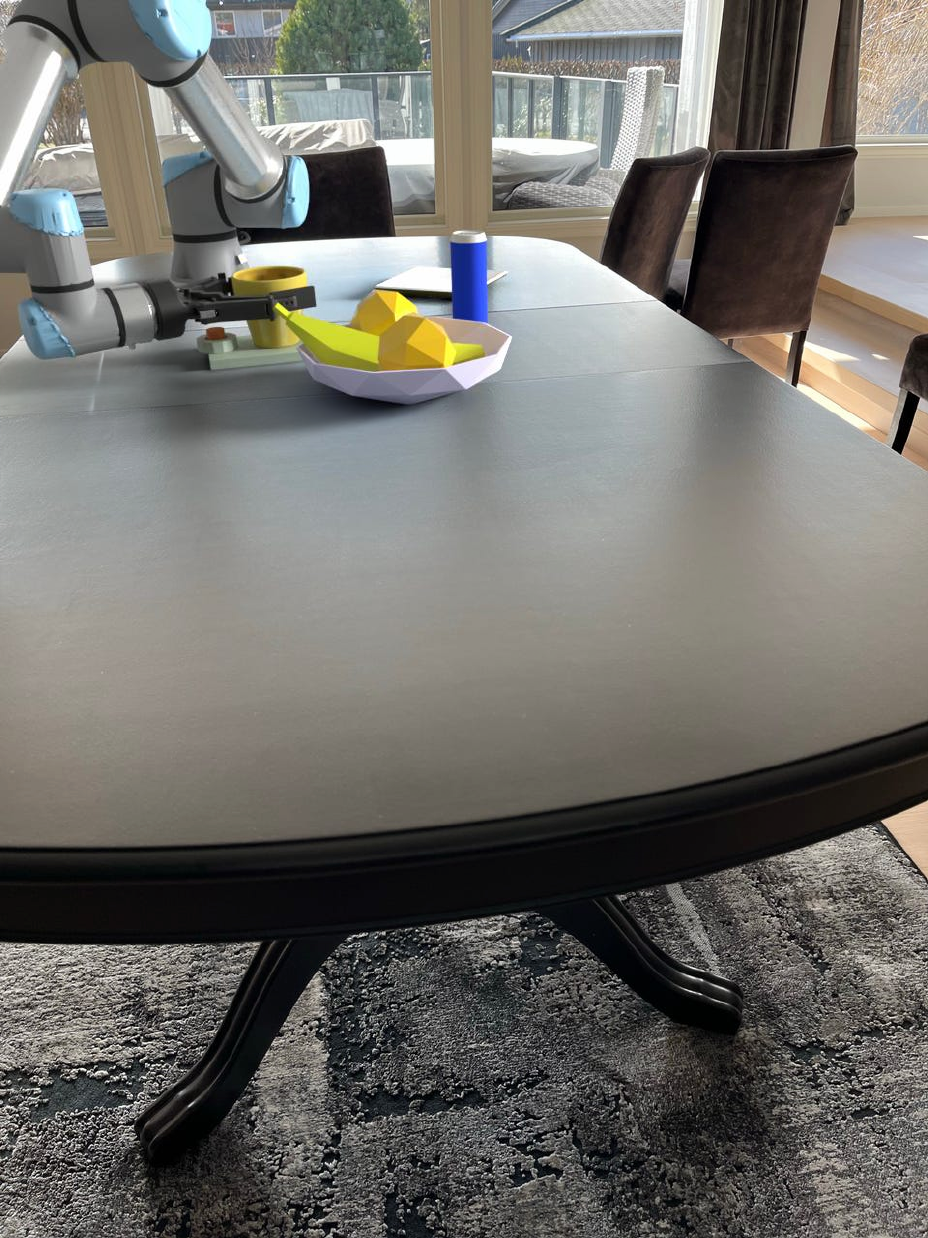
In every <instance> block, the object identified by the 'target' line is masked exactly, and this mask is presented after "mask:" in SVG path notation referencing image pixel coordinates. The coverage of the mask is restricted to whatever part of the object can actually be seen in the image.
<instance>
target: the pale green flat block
mask: <svg viewBox="0 0 928 1238" xmlns="http://www.w3.org/2000/svg"><path fill="white" fill-rule="evenodd" d="M225 336H226V338H225V339H221V340H207V335H206V334H202V335H199V336H198V337H196V343H197V344H196V345H197V349H198V352H199V353H202V354H207V355H208V356H207V357H208V361H209V368H210V370H211V371H215V370H225V369H233V368H245V367H255V366H264V365H273V364H284V363H292V362H304V361H303V359H302V358H301V356H300V354H299V352H298V350H297V348H296V347H297V346H299V345H300V344H302V343H303V342H302V341H301V340H300V341H299V342H298V343H297V344H295V345H292V346H289V347H284V348H261V347H258V346H256V345H255V344H254V342H253V339H252V336H251V334H250V335H241V336H240V335H239V336H237V334H235V333H231V332H225Z"/></svg>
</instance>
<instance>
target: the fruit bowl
mask: <svg viewBox="0 0 928 1238" xmlns="http://www.w3.org/2000/svg"><path fill="white" fill-rule="evenodd" d="M273 310H274V311H275V312H276V313H277V314H279V315H280V316H281V317H282V318H283V319H285V320H286V323H285V324H286V325H287V326H288V327H289V328H290V329H291V330H292V331H293V332H294V334H295V335H296V336H297V337H298V338H299V339H300V340H301V341H302V342H303V343H302V344H300V345H299V346H297V347H296V348H297V350H298V352H299V354H300V356H301V358H302V359H303V361H302V362H303V364H304V365H305V367H306V369H307V371H308V373H309V374H310V376H311V378H312V380H314V381H316V382H318V383H321V384H323V385H326V386H328V387H330V388H333V389H335V390H337V391H340V392H342V393H344V394H347V395H350V396H352V397H358V398H363V399H370V400H376V401H377V400H378V401H383V402H388V403H390V402H391V403H394V404H402V405H407V406H411V405H415V404H418V403H422V402H425V401H429V400H432V399H433V400H434V399H437V398H440V397H444V396H448V395H451V394H455V393H458V392H462V391H466V390H468V389H470V388H472V387H473V386H475V385H476V384H478V383H480V382H481V381H483V380H485V379H487V378H488V377H490V376H492V375H494V374H495V373H497V372H499V371H500V370H501V369H502V365H503V363H504V360H505V358H506V355H507V352H508V349H509V346H510V344H511V341H512V338H513V336H512V335H510V334H508V333H506V332H505V331H502V330H500V329H498V328H496V327H495V326H493V325H491V324H490V323H488V324H487V323H485V322H476V321H467V320H459V319H453V318H451V317H440V316H432V315H431V316H423V315H422V314H419V312H418V309H417V306H416V305H415V304H414V303H413V302H412V301H410V300H409V299H407V298H406V296H402V295H401V294H399V293H398V292H393V291H384V290H376V289H375V288H374V289H372V290H371V291H370V292H369V293H368V294H367V295H366V296H365V297H364V298H363V299H362V300H361V301H360V302H359V303H358V304H357V306H356V307H355V310H354V312H353V315H352V317H351V319H350V322H349V323H348V324H345V325H342V324H341V325H340V324H337V323H333V322H329V321H327V320H323V319H319V318H315V317H311V316H308V315H304V314H303V315H301V314H297V313H294V312H293V313H292V314H291V313H290V312H289V311H287V310H286V309H285V308H284V307H283V306H282V305H280V304H279V303H276V305H275V306H274V307H273Z"/></svg>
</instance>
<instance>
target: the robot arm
mask: <svg viewBox="0 0 928 1238" xmlns="http://www.w3.org/2000/svg"><path fill="white" fill-rule="evenodd" d="M206 3H207V0H21V1H20V2H19V4H18V5H17V7H16V8H15V10H14V11H13V14H12V16H11V17H10V19H9V22H7V26H6V28H5V30H4V33H3V38H2V39H3V40H2V41H3V47H4V49H5V53H4V55H3V58H2V60H1V62H0V274H26V276H27V279H28V282H29V286H30V292H31V296H29V297H28V298H27V299H22V300H20V301H19V302H18V305H17V315H18V321H19V325H20V330H21V333H22V335H23V338H24V340H25V343H26V345H27V347H28V349H29V351H30V352H31V353H32V355H34V357H36V358H37V359H39V360H43V361H47V360H48V361H49V360H55V359H62V358H64V359H65V358H76V357H78V356H79V357H80V356H83V355H88V354H93V353H99V352H103V351H107V350H109V351H110V350H114V349H119V348H123V347H128V349H129V350H136V348H137V345H138V344H139V345H140V344H141V345H142V344H148V343H151V342H153V340H156V341H158V342H160V341H166V340H170V339H176V338H180V337H182V336H183V335H184V333H185V331H186V323H187V321H188V320H194V323H200V325H205V326H206V325H209V324H216V323H217V324H218V323H229V322H244V321H245V322H247V321H246V320H261V319H270V321H276V318H277V313H276V312H275V311H274V310H273V307H274V306H275V305H276V303H279V304H280V305H282V306H283V307H284V308H285V309H286V310H287V311H295V310H301V309H303V310H306V309H310V308H317V307H318V306H317V297H316V288H315V285H308V286H306V287H300V288H294V289H288V290H282V291H276V292H270V293H269V295H243V296H234V292H233V286H232V279H231V277H232V274H234V273H235V272H237V271H240V270H244V269H248V268H251V267H250V265H249V262H248V259H247V257H246V255H245V252H243V250H242V247H241V246H244V245H247V244H248V243H250V242H251V236H250V235H249V233H248V232H246V231H244V230H241V231H239V232H237V228H249V229H250V228H256V229H259V228H260V229H262V228H265V229H269V228H271V229H272V228H273V229H282V230H285V229H287V228H289V229H290V228H298V227H300V226H301V225H302V224H303V223H304V222H305V220H306V217H307V215H308V210H309V203H310V181H309V180H310V179H309V173H308V168H307V165H306V163H305V160H304V159H303V158H302V157H300V156H296V155H294V154H291V155H290V156H287V155H284V153H283V151H282V150H281V148H280V147H279V146H278V144H276V142H275V141H273V140H272V139H271V138H269V137H267V136H263V135H261V133H260V132H259V131H258V128H257V127H256V126H255V124H254V122H253V121H252V120H251V117H250V116H249V114H248V113H247V111H246V110H245V108H244V106H243V105H242V103H241V102H240V100H239V98H238V97H237V95H236V94H235V92H234V91H233V90H232V88H231V86H230V85H229V83H228V82H227V80H226V78H225V76H224V75H223V74H222V72H221V70H220V69H219V67H218V66H217V64H216V62H215V61H214V59H213V57H212V56H211V55H210V45H211V42H212V34H213V33H212V32H213V26H212V18H211V11H210V9H209V8H208V7H207V5H206ZM95 63H128V64H130V65H131V67H132V68H133V70H134V71H135V72H136V74H138V76H139V77H140V78H141V80H143V81H144V82H145V83H146V84H147V85H149V86H151V87H153V88H156V89H160V90H162V91H163V92H164V93H165V95H166V96H167V97H168V98H169V101H171V103H172V105H174V107H175V108H176V109H177V111H178V112H179V113H180V115H181V116H182V118H183V119H184V120H185V121H186V122H187V124H188V126H189V127H190V128H191V130H192V131H193V133H194V134H195V135H196V136H197V138H198V139H199V140H200V142H201V144H203V146H204V147H205V149H206V150H201V151H196V152H191V153H184V154H179V155H174V156H170V157H166V158H165V159H164V160H163V161H162V163H161V176H162V188H163V190H164V196H165V201H166V207H167V212H168V217H169V222H170V223H169V224H170V229H171V233H172V238H173V239H172V240H173V254H172V263H171V270H170V278H169V279H168V278H161V279H154V280H148V281H142V282H141V284H139V283H137V282H131V283H125V284H120V285H118V284H117V285H112V286H106V287H103V288H96V284H95V280H94V279H95V278H94V274H93V269H92V265H91V260H90V255H89V251H88V246H87V240H86V236H85V228H84V225H83V222H82V220H81V217H80V213H79V210H78V206H77V202H76V199H75V196H74V195H73V193H72V192H70V191H69V190H67V189H64V188H61V187H60V188H57V187H47V188H28V189H23V186H24V184H25V181H26V180H27V177H28V174H29V172H30V170H31V167H32V165H33V162H34V160H35V158H36V156H37V152H38V150H39V148H40V145H41V144H42V143H41V142H42V140H43V138H44V135H45V133H46V131H47V128H48V126H49V123H50V121H51V118H52V116H53V113H54V111H55V108H56V105H57V104H58V102H59V99H60V97H61V94H62V92H63V89H64V88H67V87H69V86H71V85H73V84H74V83H75V81H76V80H77V77H78V75H79V73H80V71H81V70H82V69H84V68H85V67H87V66H89V65H92V64H95ZM243 238H245V239H243ZM239 239H240V240H239ZM241 239H242V240H241ZM229 294H230V295H229ZM265 308H266V310H265Z"/></svg>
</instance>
